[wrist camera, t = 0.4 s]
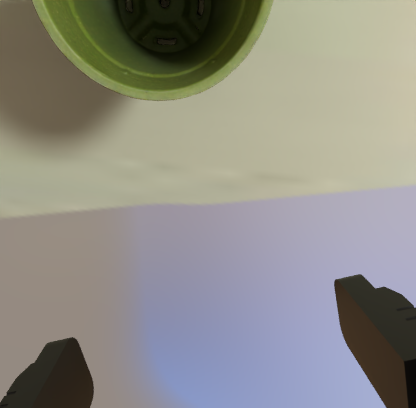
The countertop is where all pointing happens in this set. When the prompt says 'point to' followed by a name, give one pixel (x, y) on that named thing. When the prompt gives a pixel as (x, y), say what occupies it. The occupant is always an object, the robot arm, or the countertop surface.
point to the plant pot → (154, 42)
